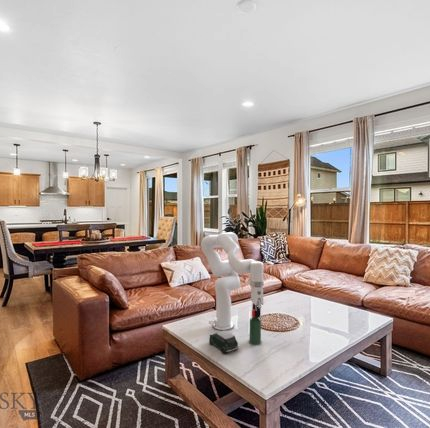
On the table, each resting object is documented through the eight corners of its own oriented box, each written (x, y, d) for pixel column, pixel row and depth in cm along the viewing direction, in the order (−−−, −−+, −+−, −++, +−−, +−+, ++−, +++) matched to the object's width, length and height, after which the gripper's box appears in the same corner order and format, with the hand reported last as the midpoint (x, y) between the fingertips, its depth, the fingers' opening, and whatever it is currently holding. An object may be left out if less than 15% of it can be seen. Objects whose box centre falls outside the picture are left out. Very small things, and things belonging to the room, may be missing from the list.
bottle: (251, 345, 165) (251, 313, 164) (248, 339, 171) (248, 309, 170) (262, 343, 167) (262, 312, 166) (258, 338, 173) (258, 308, 172)
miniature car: (220, 338, 173) (220, 324, 173) (240, 350, 159) (240, 335, 159) (207, 342, 167) (207, 328, 167) (226, 355, 153) (226, 340, 153)
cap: (257, 314, 170) (258, 308, 170) (260, 317, 166) (260, 310, 166) (251, 315, 169) (251, 308, 169) (252, 317, 165) (253, 311, 165)
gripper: (267, 287, 160) (267, 320, 161) (258, 279, 176) (258, 309, 177) (254, 288, 158) (254, 321, 159) (246, 280, 174) (246, 310, 175)
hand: (256, 315), depth 168 cm, fingers closed on cap, 4 cm apart
